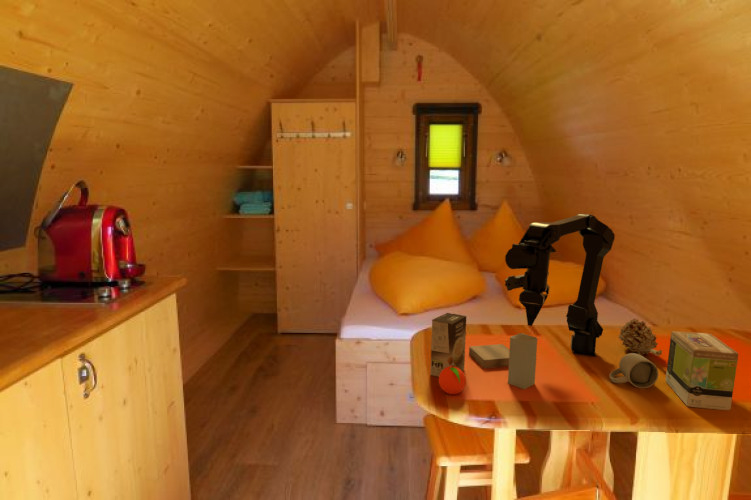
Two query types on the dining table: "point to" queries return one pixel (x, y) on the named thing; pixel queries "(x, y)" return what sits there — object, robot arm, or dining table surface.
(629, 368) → the ceramic mug
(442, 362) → the coffee box
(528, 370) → the wooden block
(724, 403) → the tea box
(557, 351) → the dining table surface
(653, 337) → the pine cone
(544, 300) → the robot arm
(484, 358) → the walnut slab
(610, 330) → the dining table surface
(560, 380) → the dining table surface
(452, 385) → the red tomato
